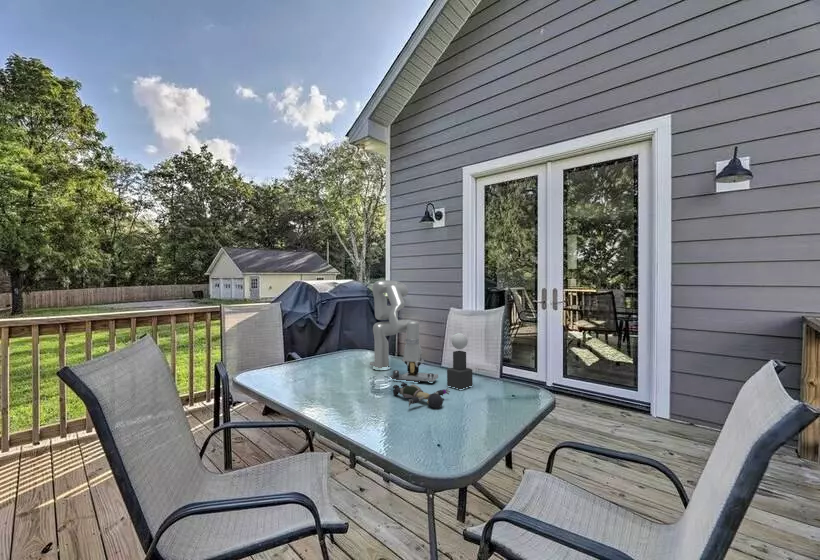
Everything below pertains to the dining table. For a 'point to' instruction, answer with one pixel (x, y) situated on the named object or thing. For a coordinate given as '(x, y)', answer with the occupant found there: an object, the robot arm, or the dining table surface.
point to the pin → (412, 368)
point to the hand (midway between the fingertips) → (413, 372)
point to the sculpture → (459, 365)
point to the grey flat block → (417, 378)
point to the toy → (420, 395)
